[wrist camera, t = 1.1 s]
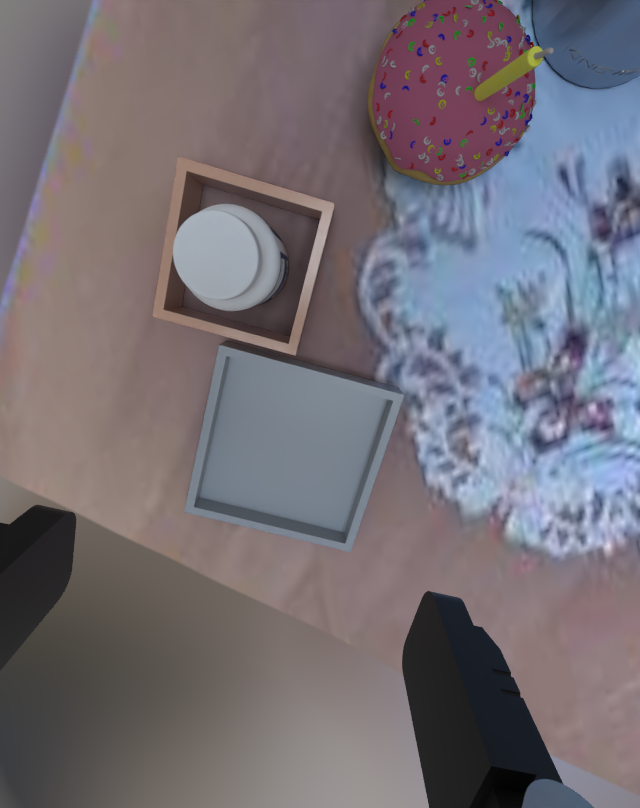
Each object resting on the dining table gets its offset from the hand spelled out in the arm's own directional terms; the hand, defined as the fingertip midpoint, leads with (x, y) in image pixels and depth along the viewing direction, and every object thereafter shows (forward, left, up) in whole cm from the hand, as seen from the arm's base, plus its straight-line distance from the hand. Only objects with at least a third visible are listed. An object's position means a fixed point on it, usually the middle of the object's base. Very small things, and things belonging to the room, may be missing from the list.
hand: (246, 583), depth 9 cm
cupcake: (-18, +4, -22) cm, 29 cm away
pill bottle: (-7, -5, -22) cm, 24 cm away
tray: (+5, +1, -22) cm, 23 cm away
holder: (-7, -5, -22) cm, 24 cm away
